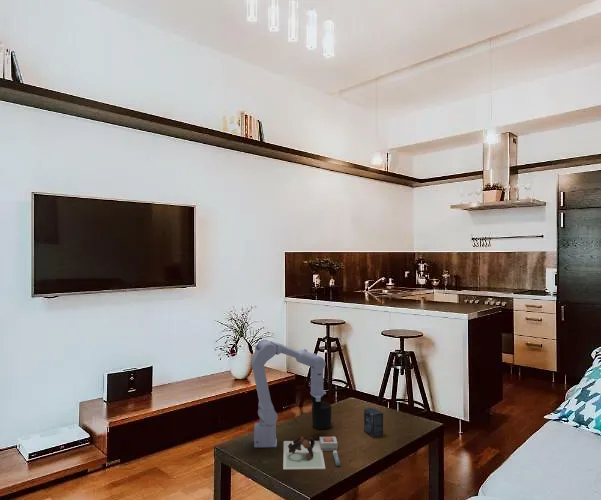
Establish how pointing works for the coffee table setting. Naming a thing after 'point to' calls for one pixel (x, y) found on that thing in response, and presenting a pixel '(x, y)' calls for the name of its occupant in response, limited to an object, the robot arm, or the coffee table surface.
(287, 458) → the paper
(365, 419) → the box
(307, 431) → the coffee table surface
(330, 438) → the button
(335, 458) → the marker
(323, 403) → the pen holder
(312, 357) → the robot arm
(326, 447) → the white square holder
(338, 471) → the coffee table surface
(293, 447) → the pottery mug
